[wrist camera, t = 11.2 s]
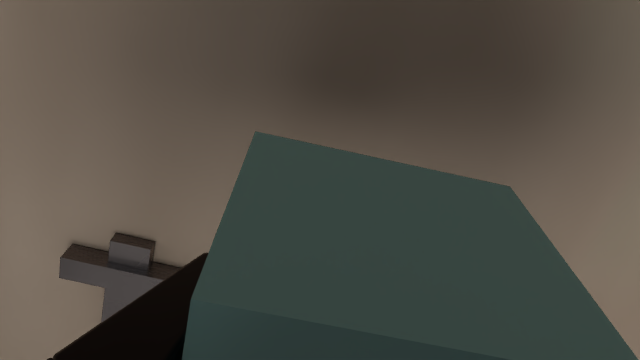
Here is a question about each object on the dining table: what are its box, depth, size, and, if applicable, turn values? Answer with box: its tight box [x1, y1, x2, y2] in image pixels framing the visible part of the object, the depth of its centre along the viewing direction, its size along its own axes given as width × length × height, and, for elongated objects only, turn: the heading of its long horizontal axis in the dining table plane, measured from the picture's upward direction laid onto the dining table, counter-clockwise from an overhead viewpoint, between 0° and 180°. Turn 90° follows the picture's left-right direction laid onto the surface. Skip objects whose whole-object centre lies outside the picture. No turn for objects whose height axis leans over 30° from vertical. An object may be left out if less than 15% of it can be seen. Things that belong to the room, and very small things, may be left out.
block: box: [182, 131, 638, 360], centre depth 8 cm, size 4×4×4 cm
